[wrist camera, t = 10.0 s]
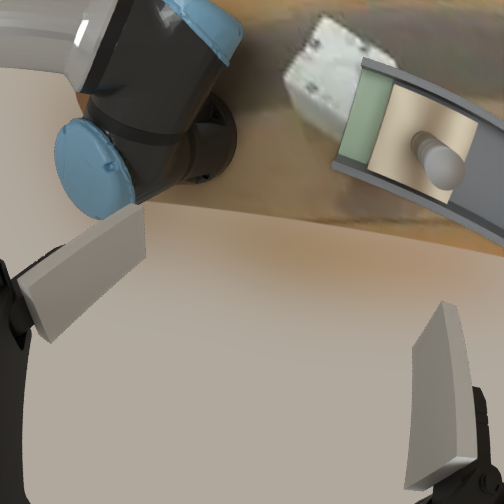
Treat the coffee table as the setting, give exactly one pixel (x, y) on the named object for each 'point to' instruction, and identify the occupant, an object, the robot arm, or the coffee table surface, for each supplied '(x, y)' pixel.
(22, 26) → the robot arm
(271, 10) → the coffee table surface
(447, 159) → the beige block with post
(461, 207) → the bay
